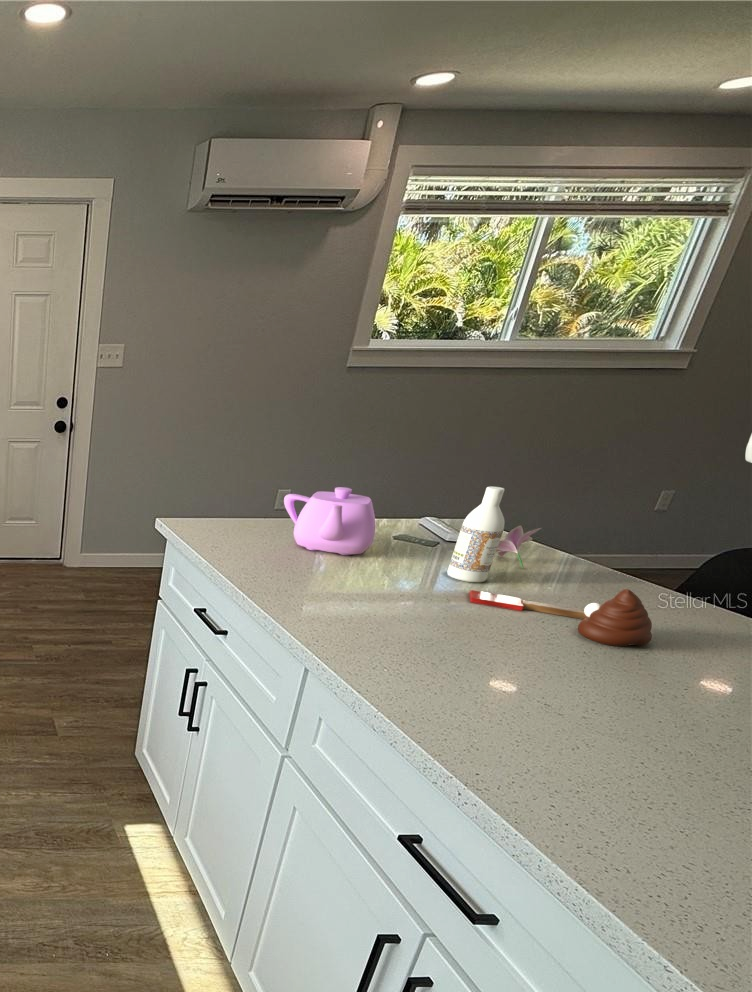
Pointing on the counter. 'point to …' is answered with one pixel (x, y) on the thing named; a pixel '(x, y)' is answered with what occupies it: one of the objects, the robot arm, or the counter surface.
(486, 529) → the bath foam
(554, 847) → the counter surface
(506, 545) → the lily
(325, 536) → the teapot
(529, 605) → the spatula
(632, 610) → the poop emoji
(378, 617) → the counter surface
